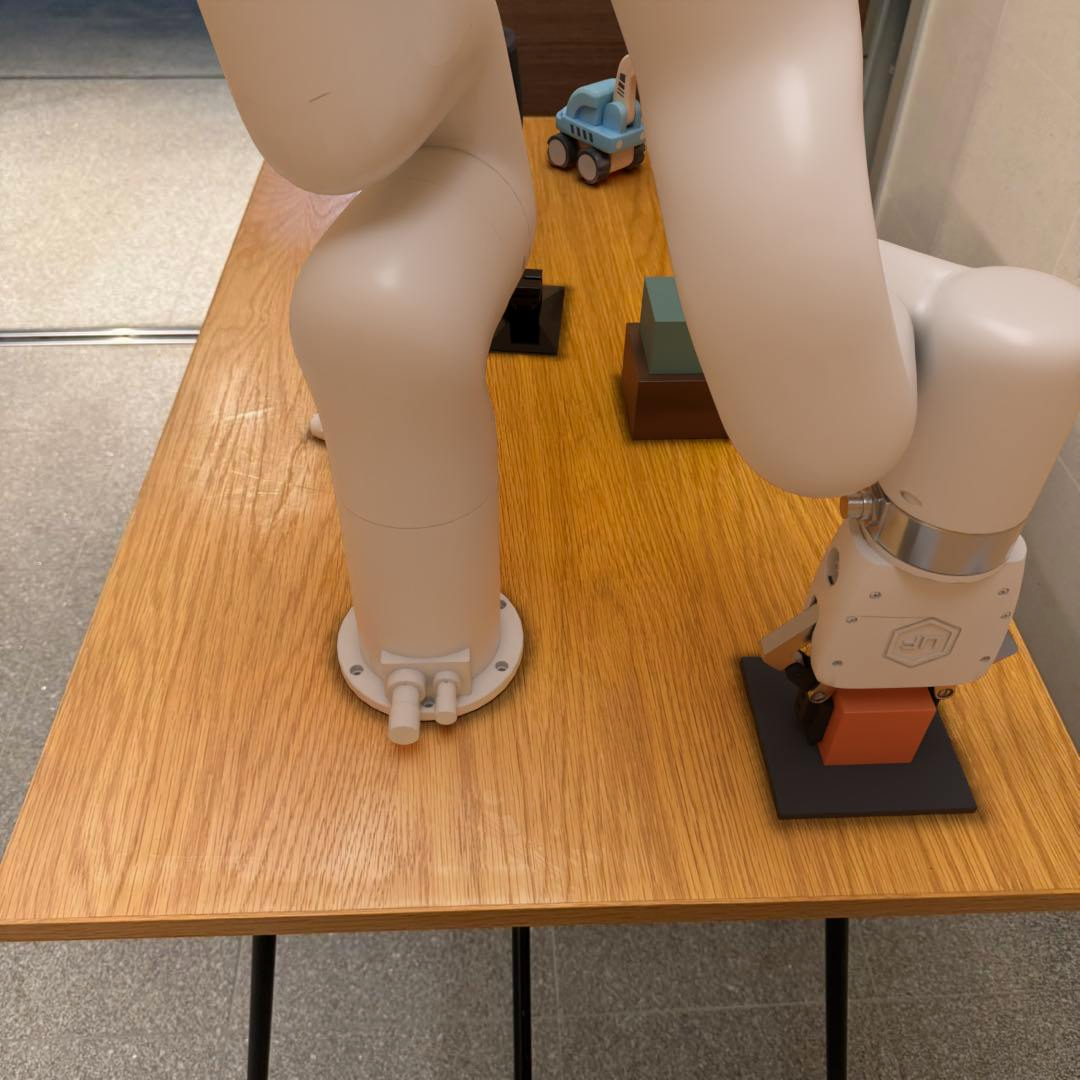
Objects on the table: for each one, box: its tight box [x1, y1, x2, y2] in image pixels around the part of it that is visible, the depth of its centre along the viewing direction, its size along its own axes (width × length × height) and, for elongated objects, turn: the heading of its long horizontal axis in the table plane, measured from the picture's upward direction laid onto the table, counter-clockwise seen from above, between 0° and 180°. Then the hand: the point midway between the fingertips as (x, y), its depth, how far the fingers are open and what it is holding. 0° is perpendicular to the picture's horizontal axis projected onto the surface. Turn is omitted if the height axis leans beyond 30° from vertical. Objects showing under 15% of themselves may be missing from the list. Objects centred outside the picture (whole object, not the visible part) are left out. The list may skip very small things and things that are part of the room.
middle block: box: [639, 276, 703, 374], centre depth 83 cm, size 7×7×5 cm
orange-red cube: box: [818, 687, 936, 766], centre depth 62 cm, size 6×6×6 cm
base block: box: [620, 321, 730, 440], centre depth 87 cm, size 9×9×6 cm
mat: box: [739, 655, 979, 820], centre depth 64 cm, size 12×12×1 cm
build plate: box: [489, 268, 566, 357], centre depth 97 cm, size 12×7×5 cm, turn 176°
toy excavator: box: [546, 54, 647, 185], centre depth 117 cm, size 9×17×17 cm, turn 42°
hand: (858, 720), depth 63 cm, fingers closed on orange-red cube, 5 cm apart
